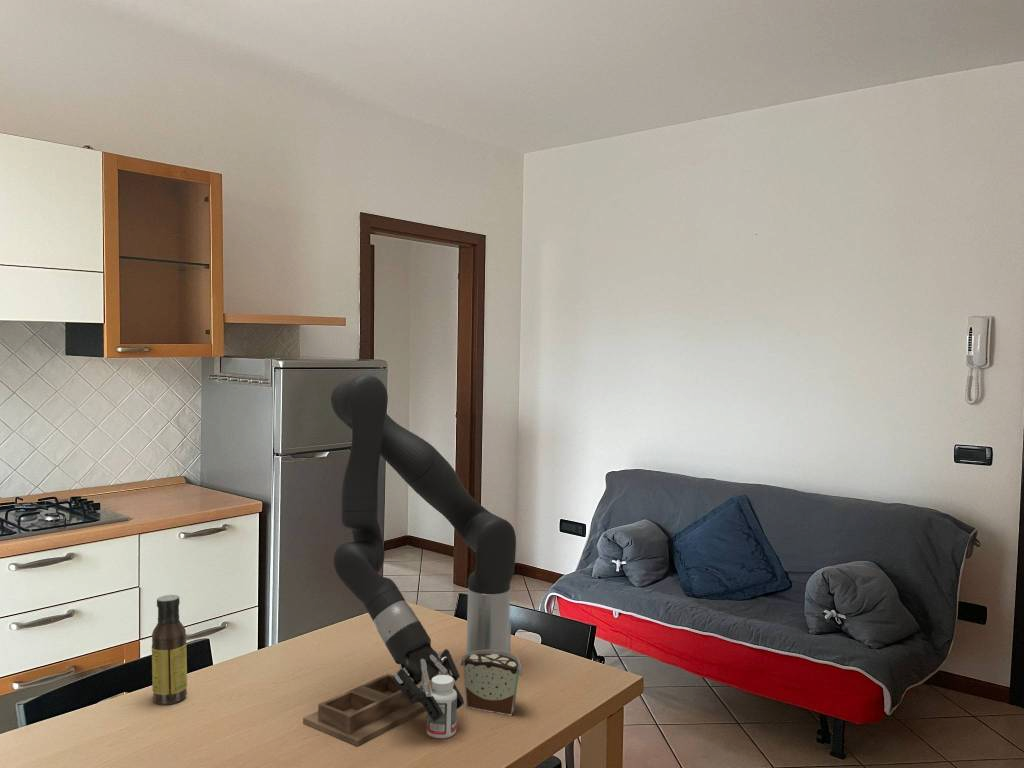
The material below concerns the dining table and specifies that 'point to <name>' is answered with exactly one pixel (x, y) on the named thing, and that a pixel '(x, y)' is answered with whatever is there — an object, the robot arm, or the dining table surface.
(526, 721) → the dining table surface
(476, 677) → the food container
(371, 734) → the walnut organizer
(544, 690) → the dining table surface
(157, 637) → the sauce bottle
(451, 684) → the pill bottle
